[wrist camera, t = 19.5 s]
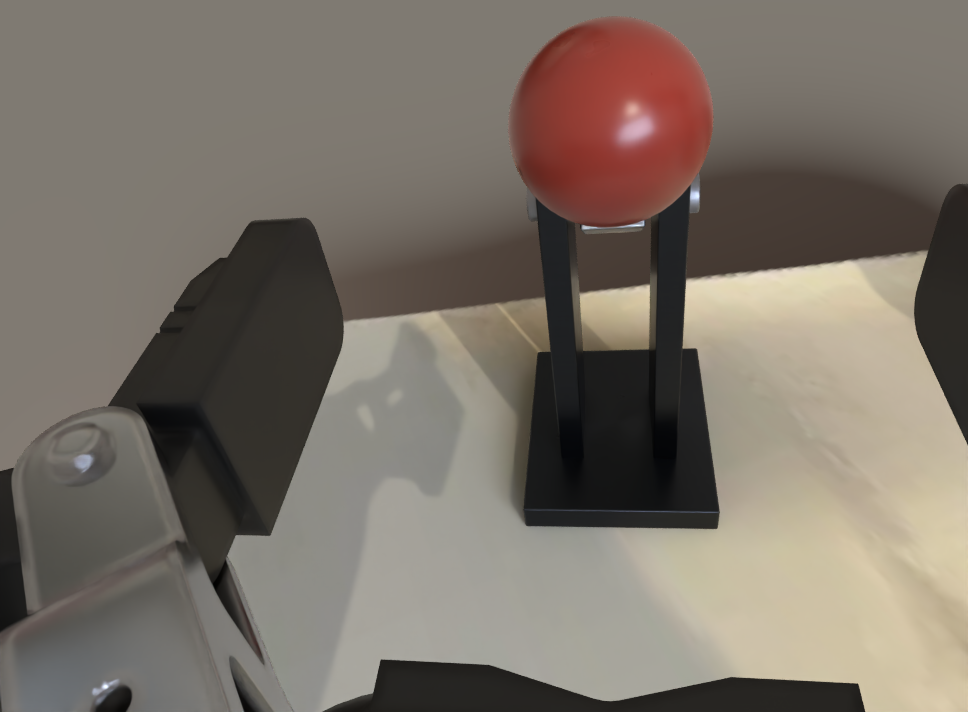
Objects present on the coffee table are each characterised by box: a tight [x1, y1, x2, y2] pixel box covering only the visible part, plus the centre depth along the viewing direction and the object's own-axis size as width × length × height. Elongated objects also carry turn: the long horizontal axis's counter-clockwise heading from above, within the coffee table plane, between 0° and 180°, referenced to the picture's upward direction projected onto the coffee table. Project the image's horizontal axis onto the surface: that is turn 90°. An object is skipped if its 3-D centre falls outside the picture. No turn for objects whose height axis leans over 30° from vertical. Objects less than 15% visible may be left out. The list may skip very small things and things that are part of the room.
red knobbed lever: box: [508, 16, 713, 234], centre depth 20 cm, size 17×4×4 cm
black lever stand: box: [523, 174, 720, 529], centre depth 31 cm, size 10×8×15 cm
